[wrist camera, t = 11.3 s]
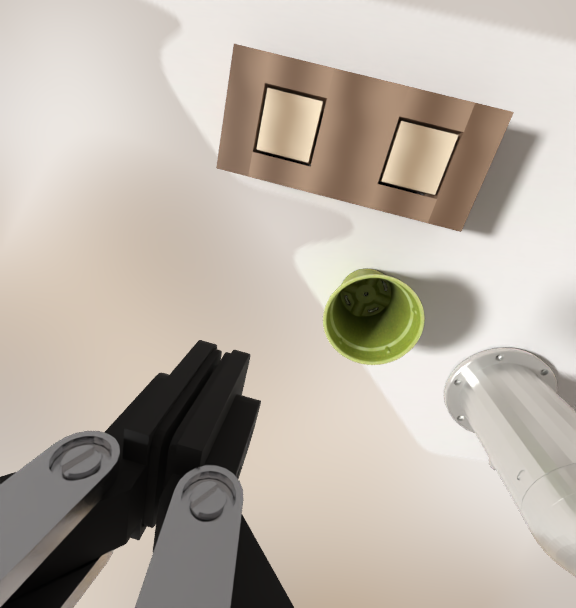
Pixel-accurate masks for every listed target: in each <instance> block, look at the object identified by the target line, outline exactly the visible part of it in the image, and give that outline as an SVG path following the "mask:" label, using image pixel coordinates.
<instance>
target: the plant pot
mask: <svg viewBox="0 0 576 608" xmlns="http://www.w3.org/2000/svg"><path fill="white" fill-rule="evenodd" d="M381 281H384V282H385V284H386V285H387V291H385V290H384V286H383V284H382V282H381ZM365 292H367V293H368V295H367V296H364V293H365ZM345 295H346V296H347V297H348V300H349V302H350V304H351V305H348V304H347V303H346V301H345ZM377 307H378V310H376V311H374V312H368V310H371V309H375V308H377ZM424 321H425V317H424V309H423V306H422V303H421V301H420V299H419V297H418V296H417V294H416V293H415V292H414V291H413V290H412V289H411V288H410V287H409V286H408V285H407V284H405V283H404V282H402V281H400V280H398V279H396V278H394V277H391V276H388V275H384V274H382V273H381V272H379V271H377V270H373V269H360V270H357V271H354V272H353V273H351V274H350V275H348V276H347V277H346V278H345V280H344V281H343V283H342V284H341V286H340V287H338V288H337V289H336V290H335V291H334V293H333V294H332V295H331V296H330V298H329V300H328V302H327V304H326V306H325V309H324V314H323V327H324V331H325V334H326V337H327V339H328V340H329V342H330V344H331V345H332V346H333V348H334V349H335V350H336V351H337V352H339V353H340V354H341V355H342V356H344V357H346V358H347V359H349V360H352V361H354V362H357V363H361V364H366V365H380V364H385V363H389V362H392V361H395V360H397V359H399V358H401V357H402V356H404V355H405V354H406V353H408V352H409V351H410V350H411V349H412V348H413V347H414V346H415V344H416V343H417V342H418V340H419V338H420V336H421V334H422V331H423V328H424Z"/></svg>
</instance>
